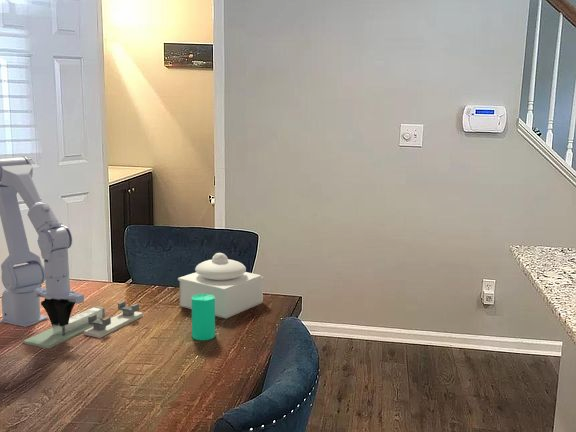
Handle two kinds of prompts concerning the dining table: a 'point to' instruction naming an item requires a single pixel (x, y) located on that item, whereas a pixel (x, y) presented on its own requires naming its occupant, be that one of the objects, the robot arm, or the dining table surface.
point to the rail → (78, 321)
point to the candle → (203, 316)
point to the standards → (113, 320)
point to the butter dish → (223, 286)
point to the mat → (52, 337)
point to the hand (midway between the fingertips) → (60, 326)
